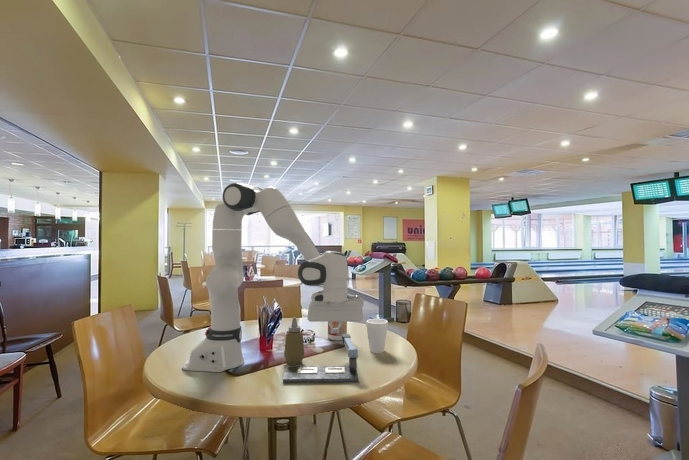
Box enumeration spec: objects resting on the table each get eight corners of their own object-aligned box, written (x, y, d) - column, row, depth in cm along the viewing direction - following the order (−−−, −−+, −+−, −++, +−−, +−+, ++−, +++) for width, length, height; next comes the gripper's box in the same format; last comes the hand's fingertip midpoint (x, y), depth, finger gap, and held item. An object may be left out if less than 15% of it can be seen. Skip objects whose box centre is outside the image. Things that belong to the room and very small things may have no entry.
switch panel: (282, 383, 124) (282, 365, 124) (286, 370, 136) (286, 353, 136) (358, 382, 125) (358, 364, 125) (355, 369, 137) (355, 353, 137)
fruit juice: (345, 341, 174) (346, 282, 174) (326, 340, 175) (326, 282, 175) (347, 335, 183) (347, 280, 183) (329, 335, 184) (329, 280, 184)
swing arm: (358, 357, 131) (358, 350, 131) (348, 358, 130) (348, 350, 130) (349, 340, 152) (349, 333, 152) (341, 340, 151) (341, 334, 151)
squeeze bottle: (308, 361, 146) (308, 316, 146) (297, 367, 139) (297, 320, 139) (291, 358, 149) (291, 314, 150) (279, 364, 142) (280, 318, 142)
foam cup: (386, 355, 154) (386, 324, 154) (365, 353, 156) (365, 323, 156) (388, 348, 163) (388, 319, 163) (368, 346, 165) (368, 318, 165)
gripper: (363, 293, 136) (362, 330, 135) (308, 294, 135) (308, 331, 135) (364, 296, 129) (364, 335, 129) (307, 296, 128) (307, 336, 128)
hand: (335, 333), depth 132 cm, fingers closed
